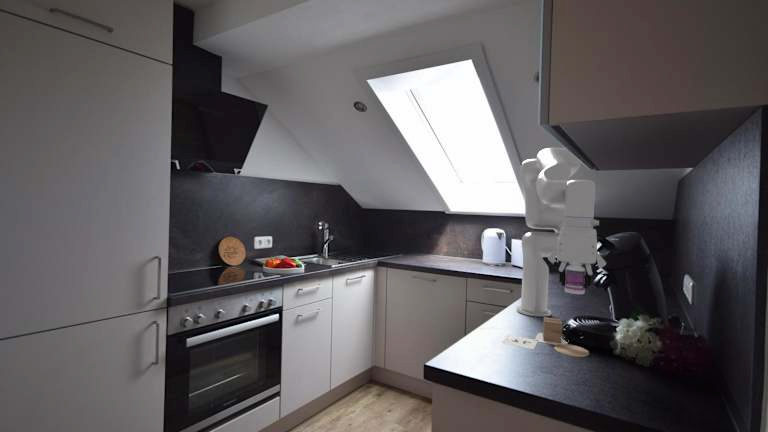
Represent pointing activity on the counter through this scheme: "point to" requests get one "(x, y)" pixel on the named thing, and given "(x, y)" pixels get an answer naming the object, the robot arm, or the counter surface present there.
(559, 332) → the walnut block
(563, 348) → the cork coaster
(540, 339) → the tile block
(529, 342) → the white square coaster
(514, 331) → the counter surface
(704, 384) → the counter surface
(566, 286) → the pill bottle
